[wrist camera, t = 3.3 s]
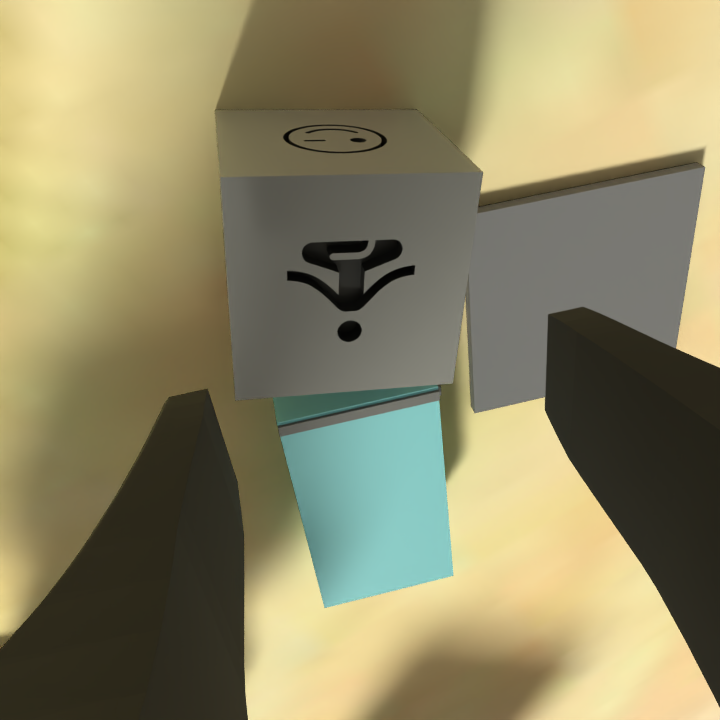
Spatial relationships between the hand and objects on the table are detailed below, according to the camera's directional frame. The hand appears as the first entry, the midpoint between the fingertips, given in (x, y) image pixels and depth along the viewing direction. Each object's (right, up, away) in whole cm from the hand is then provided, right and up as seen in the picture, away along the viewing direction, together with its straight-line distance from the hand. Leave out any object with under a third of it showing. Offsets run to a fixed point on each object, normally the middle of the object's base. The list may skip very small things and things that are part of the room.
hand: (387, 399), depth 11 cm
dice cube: (-2, +5, +7) cm, 9 cm away
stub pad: (+6, +3, +10) cm, 12 cm away
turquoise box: (-1, -2, +12) cm, 12 cm away
